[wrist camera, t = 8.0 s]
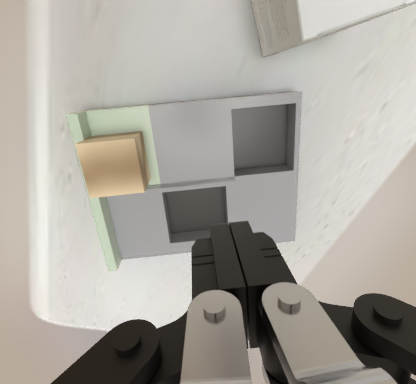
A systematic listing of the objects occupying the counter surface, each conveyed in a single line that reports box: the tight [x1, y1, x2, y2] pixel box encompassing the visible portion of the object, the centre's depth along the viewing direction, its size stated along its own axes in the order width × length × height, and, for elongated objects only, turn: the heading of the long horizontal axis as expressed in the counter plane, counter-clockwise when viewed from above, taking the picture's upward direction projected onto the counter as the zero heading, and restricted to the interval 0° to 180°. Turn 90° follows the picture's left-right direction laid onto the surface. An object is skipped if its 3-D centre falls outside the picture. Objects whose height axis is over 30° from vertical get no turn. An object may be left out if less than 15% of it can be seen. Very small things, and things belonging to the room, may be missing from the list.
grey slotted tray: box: [66, 92, 302, 271], centre depth 29 cm, size 17×22×4 cm
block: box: [75, 131, 151, 198], centre depth 25 cm, size 5×5×4 cm
